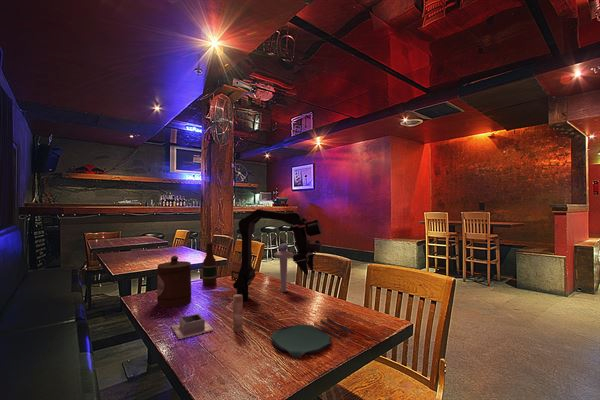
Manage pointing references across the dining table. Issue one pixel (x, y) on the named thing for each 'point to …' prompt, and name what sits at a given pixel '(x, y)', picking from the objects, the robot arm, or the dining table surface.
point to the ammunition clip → (235, 269)
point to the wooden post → (237, 312)
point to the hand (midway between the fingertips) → (309, 272)
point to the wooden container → (174, 283)
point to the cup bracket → (191, 326)
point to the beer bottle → (209, 267)
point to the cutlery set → (305, 338)
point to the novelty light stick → (283, 264)
